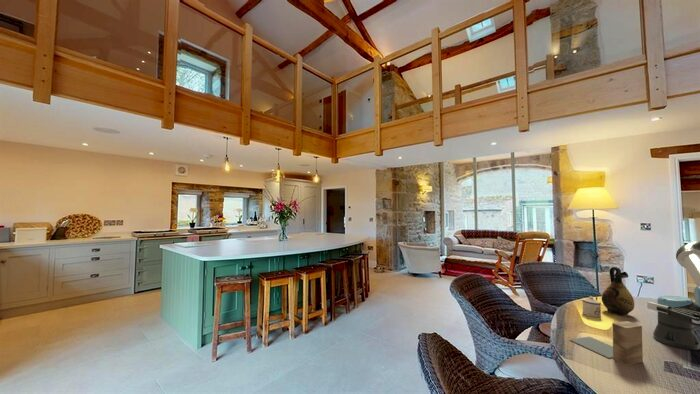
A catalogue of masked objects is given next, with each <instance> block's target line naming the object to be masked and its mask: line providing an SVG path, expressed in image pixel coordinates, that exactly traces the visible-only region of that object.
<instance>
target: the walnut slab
mask: <svg viewBox="0 0 700 394" xmlns="http://www.w3.org/2000/svg"><path fill="white" fill-rule="evenodd" d="M612 346H613V358H612V359H613V360H615V361H617V362H619V363H621V364H624V365H626V366H630V365H634V364H641V363H643V362H644V361H643V360H644V359H643V357H644V356H643V355H644V353H643V350H644V349H643V326H642V325H640V324H637V323H634V322H632V321H629V320H628V321H626V320H625V321H620V322H619V321H618V322H612ZM640 362H641V363H640Z"/></svg>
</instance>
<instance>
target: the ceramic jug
mask: <svg viewBox="0 0 700 394" xmlns="http://www.w3.org/2000/svg"><path fill="white" fill-rule="evenodd" d="M625 278H629V274H628V273H627V272H626V271H621V269H620V268H619V267H617V266H612V267H610V268H609V279H610V284H609V285H608V286H607V287H606V288H605V289H604V290H603V292H602V295H601V302H602V305H604V307H605V308H606V309H607V312H608V313H609V314H611V315H616V316H620V317H626V316H628V314H629V313H630V314H631V312H632V311H634V309H635V300H634V297H633V295H632V294H631V292H630V291H629V289H628V288H627V286H626V285H625V284H624V282H623V281H622V279H625Z"/></svg>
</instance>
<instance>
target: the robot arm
mask: <svg viewBox="0 0 700 394" xmlns="http://www.w3.org/2000/svg"><path fill="white" fill-rule="evenodd" d="M675 259H676V260H677V263H678V264H679V266H680V267H682V268H683V269H686V271H687V273H688V274H689V276H690V278H691V279H692V281H693V282H694V285H696V287H694V289H693V298H694V301H693V299H691V298H689V297H684V296H680V295H679V296H678V295H660V296H658V297H657V300H656V301H657V302H651V301H646V302H647V303H646V305H647V306H646V307H647V309H648V310H652V311H655V312H657V324H656V327H655V329H654V330H653V333H652V335H653V339H654V340H656V341H657V342H659V343H662V344H664V345H668V346H670V347H671V346H672V347H674V348H678V349H682V348H683V350H687V349H690V350H689V351H700V342H699V340H698V338H697V336H696V334H695V332H694V327H698V328H700V240H694V241H690V242H688V243H686V244H683V245H682V246H680V247H679V248H678V249H677V251H676V253H675Z"/></svg>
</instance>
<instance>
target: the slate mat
mask: <svg viewBox="0 0 700 394" xmlns="http://www.w3.org/2000/svg"><path fill="white" fill-rule="evenodd" d="M570 340H571V341H570ZM569 341H570V342H572V341H573V342H572V343H574V344H576V345H579V346H581V347H582V348H585V349H587V350H589V351H592V352H594V353H596V354H598V355H600V356H602V357H605V358H606V359H613V345H610V344H608V343H606V342H603V341H601V340H598V339H596V338H593V337H591V336H586V337H578V338H577V337H576V338H571V339H569Z"/></svg>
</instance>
